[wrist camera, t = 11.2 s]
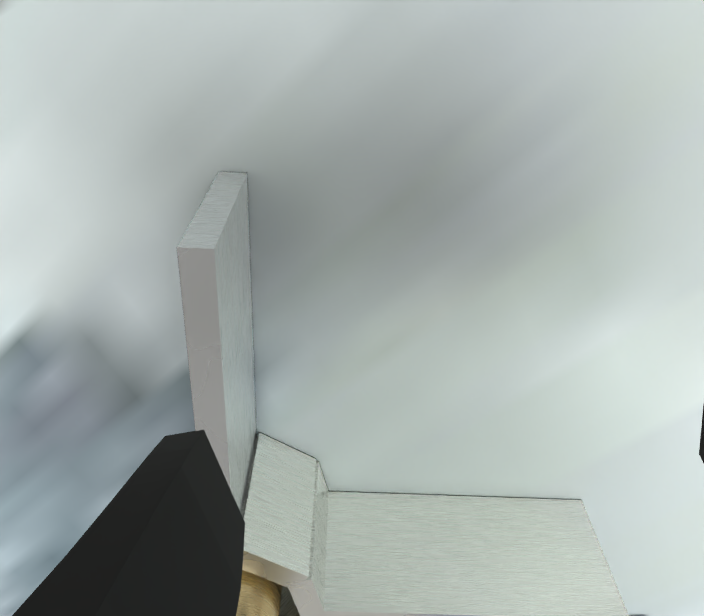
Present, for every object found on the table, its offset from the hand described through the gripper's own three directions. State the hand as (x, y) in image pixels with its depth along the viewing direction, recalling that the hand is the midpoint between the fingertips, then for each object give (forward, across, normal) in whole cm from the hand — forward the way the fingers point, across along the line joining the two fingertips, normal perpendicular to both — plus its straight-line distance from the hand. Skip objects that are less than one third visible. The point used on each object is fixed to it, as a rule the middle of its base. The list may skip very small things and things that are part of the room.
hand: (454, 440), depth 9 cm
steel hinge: (+10, +3, +7) cm, 13 cm away
